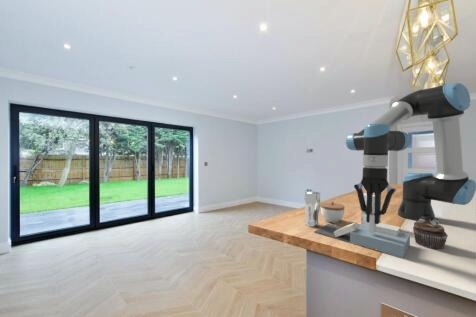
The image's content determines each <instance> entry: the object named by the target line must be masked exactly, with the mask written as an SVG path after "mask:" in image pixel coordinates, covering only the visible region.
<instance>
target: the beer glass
mask: <svg viewBox="0 0 476 317" xmlns="http://www.w3.org/2000/svg"><path fill="white" fill-rule="evenodd" d="M321 203H322V200H321V192H318V191H311V190H310V191H309V190H307V191H305V193H304V210H305V211H304V212H305V221H304V225H305V226H307V227H309V228H310V227H311V228H317V227H319V225H320V223H319V214H320V211H321Z"/></svg>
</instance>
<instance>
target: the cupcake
mask: <svg viewBox="0 0 476 317" xmlns="http://www.w3.org/2000/svg"><path fill="white" fill-rule="evenodd" d="M413 223H414V224H413V228H412V230H413V231H412V232H413V235H414V241H415V243H416V244H417V245H418V246H422V247H424V248H428V249H432V250H437V249H441V250H444V249H443V248H445V245H446V242H447V240H448V234H447V233H446V231H445V228H444V226H443V225H440V224H439V223H440V220H439V219H438V218H436V217H435V218H432V219H430V218H425V217H423V216H421V217H420V220H415V222H413Z"/></svg>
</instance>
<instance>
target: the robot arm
mask: <svg viewBox="0 0 476 317" xmlns="http://www.w3.org/2000/svg"><path fill="white" fill-rule="evenodd" d="M470 105H471V96H470V92H469V90H468V89H467V87H466V85H464V84H462V83H459V82H455V83H447V84H442V85H439V86H438V85H437V86H434V87H428V88H424V89H419V90H416V91H413V92H410V93H409V94H407V95H405V96H403V97H401V98H400V99H398V100H397V101H396V102H394V103H393V104H392V105H391V106H390V108H389V110H387V111H386V112H384V113H383V114H382V115H380V116H379V117H378V118H376V119H375V120H374V121H372V122H371V123H369V124H366V125H365V126H364V128H363V129H362V130H361V131H359V132H354V133H350V134H348V135H347V136H346V139H345V144H346V145H345V146H346V148H347V149H349V150H351V151H357V152H359V151H363V154H362V156H363V157H362V160H363V161H362V165H363V168H362V178H361V180H360V182H359V183H356V184H354V186H353V187H354V189H355V191H356V194H357V198H358V201H359V207H360V210H361V212H362V211H364V212H366V214H367V217H366V221H367V222H369V232H370V233H375V232H376V224H379V221H380V215H381V216H384V215H385V214H387V212H388V208H389V205H390V203H391V199H392V196H393V194H394V193H395V192H396V191H397V189H396V188H395V187H392V186H390V185H389V182H388V168H387V167H388V166H389V163H388V162H389V151H390V152H391V151H392V152H400V151H404V150H406V149H407V148H409V146H410V145H411V137H410V135H409V134H408V133H407V132H405V131H401V130H393V129H394V128H395V127H396V126H397V125H399V124H400V123H401V122H403V121H406V120H408V119H410V118H411V117H416V116H423V115H424V116H425V115H427V120H429V121H431V122H432V131H433V139H434V140H433V141H434V150H435V151H434V152H435V162H436V172H434V173H431V172H422V173H421V172H419V173H405V174H404V175H403V179H402V200H401V203H400V205H399V207H398V210H397V215H398V216H400V217H402V218H405V219H408V220H414V221H418V220H420V217H421V216H423V217H425V218H430V219H432V218H436V215H435V213H434V209H433V206H432V201H437V202H442V203H447V204H448V203H449V204H452V205H460V206H465V205H468V204H469V203H470V202H472V201H473V198H474V196H475V193H476V180H472V179H469V174H468V172H465V171H464V166H463V153H462V152H463V150H462V138H461V137H462V136H461V125H460V124H461V123H460V118H461V117H463V115H464V114H465V112H464V111H466V110H468V109H469V108H470ZM363 188H364V190H365V191H366V193H367V207H366V204H365V199H364V195H363V194H364V191H363ZM385 190H386V195H385V198H384V201H383V204H382V193H383V192H384V191H385ZM373 194H375V213H372V198H373ZM380 203H381V204H382V205H381V211H380Z"/></svg>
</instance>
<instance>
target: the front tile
mask: <svg viewBox="0 0 476 317" xmlns="http://www.w3.org/2000/svg"><path fill="white" fill-rule="evenodd" d="M359 225H360V224H359V223H357V221H355V222H353V223H350V224H347V225H345V226H341V227H342V228H339V229H337V230H336V231H334V232H333V233H334V234H335V236H336V237H338V236H341V235H344V234H346V233H349V232H352V231H355V230H356V229H357V228H359Z"/></svg>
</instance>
